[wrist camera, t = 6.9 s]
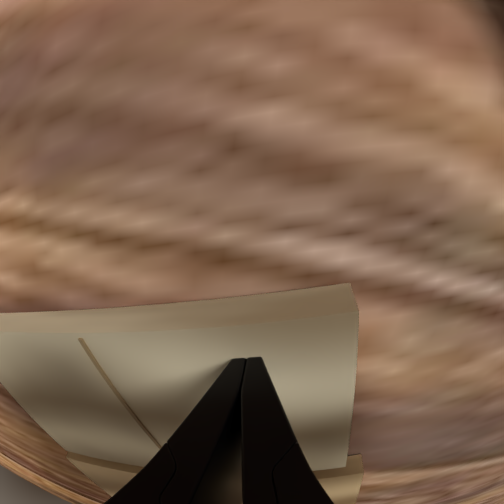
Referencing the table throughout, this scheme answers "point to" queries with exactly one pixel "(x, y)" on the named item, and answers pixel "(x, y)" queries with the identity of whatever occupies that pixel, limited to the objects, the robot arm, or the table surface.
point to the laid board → (118, 474)
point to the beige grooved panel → (183, 368)
